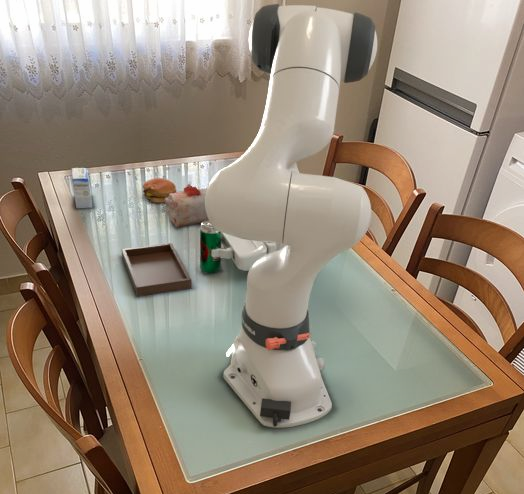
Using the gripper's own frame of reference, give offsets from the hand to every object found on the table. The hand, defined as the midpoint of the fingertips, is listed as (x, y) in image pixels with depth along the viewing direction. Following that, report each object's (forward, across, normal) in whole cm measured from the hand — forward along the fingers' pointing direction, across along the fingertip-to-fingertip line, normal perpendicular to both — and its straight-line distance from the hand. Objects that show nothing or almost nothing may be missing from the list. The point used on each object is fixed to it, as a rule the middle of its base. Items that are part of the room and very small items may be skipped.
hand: (207, 246), depth 126 cm
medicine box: (+23, -44, +7) cm, 50 cm away
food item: (-4, -26, +7) cm, 27 cm away
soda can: (-1, 0, +7) cm, 7 cm away
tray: (+12, -2, +6) cm, 14 cm away
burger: (+1, -43, +7) cm, 44 cm away
